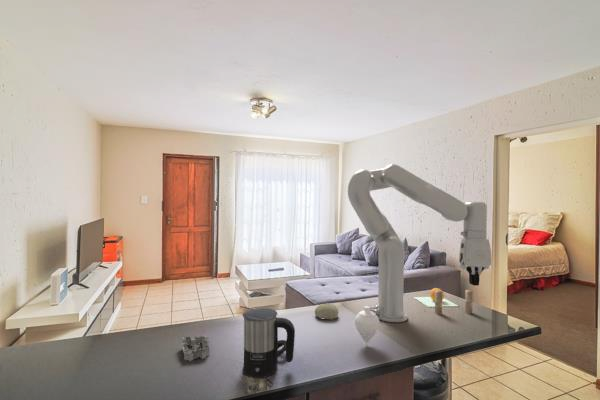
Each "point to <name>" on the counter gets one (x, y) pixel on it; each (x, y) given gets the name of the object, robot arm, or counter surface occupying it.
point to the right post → (468, 301)
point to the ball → (432, 293)
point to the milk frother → (265, 342)
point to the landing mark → (431, 303)
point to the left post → (438, 302)
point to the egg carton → (195, 347)
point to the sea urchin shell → (326, 311)
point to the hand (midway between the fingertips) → (474, 284)
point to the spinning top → (367, 324)
